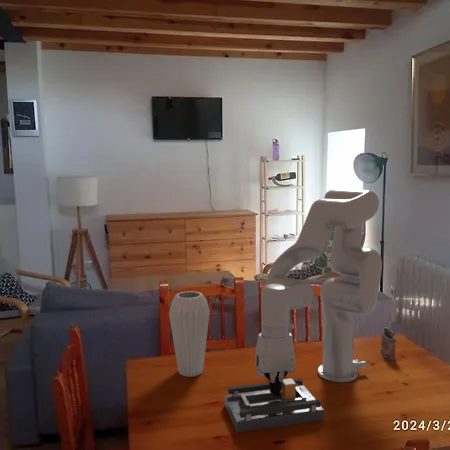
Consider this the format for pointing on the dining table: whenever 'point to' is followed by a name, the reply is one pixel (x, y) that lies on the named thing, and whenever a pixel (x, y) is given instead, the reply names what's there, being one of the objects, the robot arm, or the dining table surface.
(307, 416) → the panel
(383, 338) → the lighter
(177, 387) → the dining table surface
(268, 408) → the pair of grey rails
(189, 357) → the vase
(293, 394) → the block
